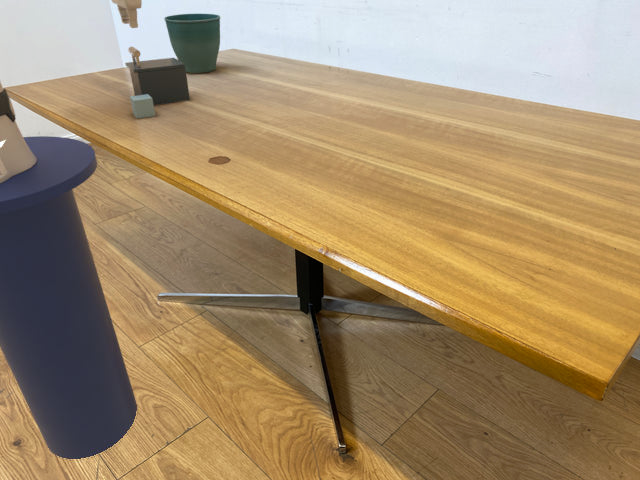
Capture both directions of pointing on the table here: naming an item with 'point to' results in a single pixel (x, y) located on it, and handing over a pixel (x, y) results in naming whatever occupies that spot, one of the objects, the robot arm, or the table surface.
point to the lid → (151, 63)
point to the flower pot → (195, 40)
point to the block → (142, 106)
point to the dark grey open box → (162, 85)
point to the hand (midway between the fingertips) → (130, 25)
